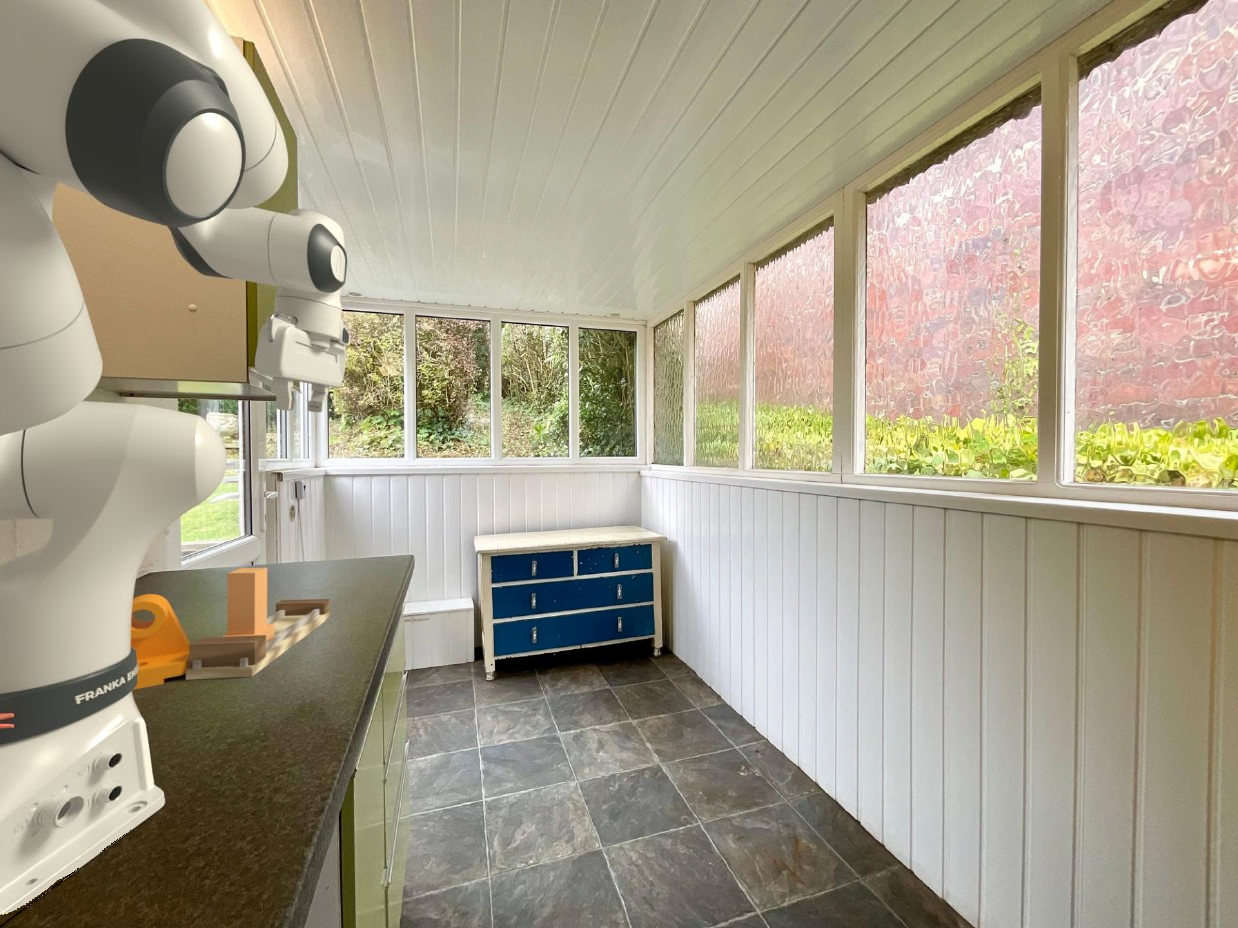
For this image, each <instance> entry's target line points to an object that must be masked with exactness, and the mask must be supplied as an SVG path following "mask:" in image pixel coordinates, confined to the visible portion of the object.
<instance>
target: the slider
mask: <svg viewBox="0 0 1238 928" xmlns="http://www.w3.org/2000/svg"><path fill="white" fill-rule="evenodd" d="M226 593H227V598H226V599H227V601H226V602H227V604H226V605H227V608H226V609H227V620H226V622H227V623H226V624H227V627H226V628H227V630H226V632H227V633H225V634H223V635H221V636H220V637H228V636H255V635H266V642H267V641H268V640H270V639H271V638H273V637H274V624H267V618H268V567H249V568H248V567H246V568H245V567H243V568H242V567H240V568H239V569H236V570H232V571H230V572H228V573H227V590H226Z"/></svg>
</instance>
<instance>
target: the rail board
mask: <svg viewBox="0 0 1238 928" xmlns="http://www.w3.org/2000/svg"><path fill="white" fill-rule="evenodd" d="M330 601H331V600H330V598H315V599H314V598H312V599H311V598H310V599H282V600H279V601H278V602H277V603H275V612H274V613H273V614H272V615H270V616H267V624H274V637H273V638H271V639H270V640H268V641H267V642H266V635H255V636H228V637H221V636H206V637H203V636H202V637H201V638H199V639H197V640H196V641H194V642H191V644H190V645H189V668H188V669H186V673H185V680H186V681H187V680H211V679H228V678H231V679H232V678H249V677H250V678H251V677H254V676H255V675H256V674H258V673H259V672H260V671H261V670H263V669H264V668H265V667H267V666H269V664H271V663H272V662H273V661H275V660H276V659H277V658H278V657H280V656H282V654H284V653H285V652H287V651H288V650H290V649H291V648H292V647H293V646H295V645H296V644H297V643H298V642H300V641H301V640H303V639H304V638H305V637H307V636H308V635H309V634H310V633H312V632H313V631H315V630H316V629H317V628H319V626H321V625H322V624H324V623H325V622H326V621H328V620H329V619H330V618H331V610H330V607H331V605H330ZM327 619H328V620H327Z"/></svg>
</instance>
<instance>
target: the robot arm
mask: <svg viewBox="0 0 1238 928" xmlns="http://www.w3.org/2000/svg"><path fill="white" fill-rule="evenodd" d="M255 74H256V73H255V72H254V71H253V70H252V68H251V65H249V63H248V61H247V59H246V57H244V55H243V54H242V52H241V50H240V48H239V47H238V45H237V44H236V43H235V41H234V39H232V37H231V35H229V33H228V31H227V30H226V29H225V28H224V26H223V25H222V23H221V22H220V20H218V18H217V17H216V16H215V14H214V13H213V12H212V11H211V9H210V8H209V6H208V5H207V4H206V3H205V2H204V0H0V521H12V520H16V521H17V520H19V521H20V520H36V519H37V520H38V519H39V520H40V519H42V520H51V521H52V527H51V529H52V530H51V535H50V536H49V539H48V541H47V542H46V544H45V545H44V546H43V547H41V548H38V549H36V550H34V551H32V552H31V551H30V552H29V553H26V554H23V555H21V556H18V557H15V558H13V559H11V560H8V561H5V562H3V563H0V915H1V914H2V915H4V914H8V913H9V912H12V911H14V910H17V908H20V907H21V906H23V905H26V903H29V901H32V899H34V898H35V897H37V896H38V895H40V894H41V893H42V892H44V891H45V890H47V889H48V888H49V887H50V886H51V885H53V884H54V883H55V882H56V881H57V880H59V879H62V878H63V877H65V876H67V875H69V874H71V873H72V872H74V871H75V870H76V871H78V870H77V868H79V869H80V868H82V867H83V866H84V865H86V864H87V863H89V862H90V861H91V860H92V859H94V858H95V857H97V856H98V855H100V854H101V853H103V851H102V850H104V848H106V847H107V846H109V845H110V846H112V845H111V843H113V842H114V841H116V840H117V839H118V840H120V839H121V838H123V837H124V836H125V835H127V834H128V833H130V832H131V831H132V830H133V829H136V827H138V826H139V825H140V824H142V823H143V822H144V821H146V820H147V819H148V818H150V817H151V816H153V815H154V814H156V813H157V812H158V811H159V810H161V808H162V807H164V805H165V803H166V798H165V792H164V791H163V790H162V788H160V787H158V786H157V785H156V784H155V779H154V775H153V768H152V767H153V766H152V761H151V760H152V759H151V753H150V752H151V751H150V746H149V745H150V743H149V738H148V732H147V725H146V722H145V719H144V718H143V716H142V715H141V712H140V711H139V708H138V706H137V704H136V701H135V699H134V694H133V691H134V690H135V689H134V688H135V687H136V685H137V671H138V670H139V665H138V663H137V655H136V650H135V649H134V648H132V647H131V615H132V604H133V599H134V593H135V587H136V580H137V577H138V573H139V571H140V567H141V565H142V563H143V561H144V559H145V557H146V555H147V554H148V552H149V550H150V548H152V546H153V544H155V542H156V540H157V539H158V538H159V537H160V536H161V535H162V534H163V532H164V531H165V530H167V529H168V527H169V526H171V525H172V524H173V523H174V522H176V521H177V520H178V519H179V518H180V517H181V516H183V515H185V514H186V513H187V512H189V511H191V510H192V509H193V508H195V507H197V506H199V505H201V504H202V503H204V502H205V501H206V500H207V499H209V497H210V496H211V495H213V493H214V492H215V491H217V489H218V487H219V486H220V485H221V483H222V481H223V479H224V476H225V473H226V469H227V465H228V463H227V461H228V456H227V451H226V447H225V445H224V444H225V443H224V441H223V439H222V437H221V436H220V434H219V432H218V431H217V430H216V429H215V428H214V426H213V425H212V424H210V422H208V421H207V420H206V419H205V418H204V417H202V416H201V415H197V414H193V413H188V412H183V411H179V410H174V409H169V408H164V407H159V406H154V405H147V404H139V403H124V402H123V403H121V402H105V401H88V400H85V399H86V398H87V397H89V396H90V394H91V393H92V392H93V391H94V390H95V389H96V387H97V386H98V384H99V382H100V380H101V376H102V374H103V367H104V366H103V365H104V364H103V357H102V354H101V351H100V349H99V344H98V342H97V338H96V334H95V331H94V327H93V325H92V321H91V317H90V314H89V310H88V307H87V305H86V302H85V301H86V300H85V298H84V294H83V291H82V288H81V285H80V282H79V280H78V277H77V273H76V271H75V269H74V265H73V264H72V261H71V259H70V256H69V254H68V251H67V249H66V247H65V245H64V242H63V241H62V239H61V237H60V235H59V232H58V230H57V228H56V227H55V225H54V223H53V205H54V199H55V193H56V190H57V186H58V185H59V183H60V184H62V185H65V186H66V187H70V188H72V189H74V190H76V191H80V192H81V193H84V194H85V195H86V194H87V195H90V196H92V197H93V198H94V199H96V200H97V201H98V202H99V203H101V204H103V205H104V206H105V207H108V208H109V209H111V210H114V211H117V212H119V213H123V214H126V215H128V216H130V217H134V218H136V219H140V220H143V221H146V222H149V223H153V224H157V225H160V226H165V227H167V228H168V230H169V232H171V237H172V239H173V242H174V246H175V247H176V250H177V251H178V253H179V254H180V255H181V257H182V258H183V259H184V261H185V262H187V263H188V265H190V266H191V267H192V268H194V270H195V271H197V272H198V273H199V274H201V275H203V276H206V277H213V278H221V279H222V278H223V279H230V280H231V279H232V280H233V279H235V280H238V281H239V280H240V281H246V282H252V283H258V284H263V285H269V286H273V287H277V291H276V292H275V298H274V309H273V310H274V311H273V312H272V313H271V314H270V315H269V316H267V319H266V323H265V324H263V325H262V327H261V329H260V331H259V335H258V339H257V340H258V341H257V345H256V350H255V357H254V367H255V370H256V372H257V375H260V376H265V377H266V376H267V377H272V383H271V385H272V390H273V392H274V395H275V399H276V400H275V408H276V409H277V410H281V411H287V412H288V411H290V412H291V411H293V410H294V409H295V399H294V398H293V397H292V395H293V394H292V389H291V388H293V387H294V382H298V383H299V382H300V383H304V384H311V391H312V394H311V398H310V400H307V410H308V412H312V413H322V412H323V411H324V404H325V401H326V399H327V397H328V394H329V390H330V389H329V388H339V387H340V386H341V385H342V383H343V381H344V377H345V376H344V375H345V369H346V364H347V363H346V361H347V348H346V347H345V346H347V347H348V346H350V344H351V334H350V332H349V331H348V329H347V328H346V326H345V324H344V321H343V320H342V317H343V316H342V313H343V307H342V302H341V294H342V290H343V288H344V285H345V284H346V280H347V269H348V268H347V267H348V256H347V251H346V244H345V235H344V234H345V233H344V230H343V228H342V227H341V226H340V224H338V222H336V221H335V220H334V219H332V218H331V217H329V216H327V215H325V214H323V213H321V212H319V211H315V210H311V209H308V208H295V209H292V210H290V211H289V212H288V213H284V212H283V213H282V212H278V211H272V210H267V209H263V208H260V207H259V208H258V207H256V206H259V205H261V204H263V203H265V202H266V201H267V200H269V199H270V198H271V197H273V195H275V194H276V193H277V192H278V191H279V190H280V188H281V186H282V185H283V184H284V181H285V179H286V175H287V173H288V167H289V155H288V153H289V152H288V148H287V144H286V139H285V135H284V132H283V129H282V127H281V124H280V122H279V119H278V117H277V115H276V113H275V111H274V109H273V107H272V104H271V103H270V101H269V99H268V97H267V95H266V93H265V91H264V88H263V87H262V85H261V84H260V81H259V79H258V78H257V76H256V75H255ZM133 689H134V690H133ZM130 830H131V831H130ZM126 833H127V834H126ZM124 834H125V835H124ZM123 835H124V836H123ZM122 836H123V837H122ZM120 837H121V838H120ZM119 838H120V839H119ZM118 840H117V841H118ZM117 841H116V842H117ZM114 843H115V842H114ZM114 843H113V844H114ZM110 846H109V847H110ZM106 849H107V848H106ZM100 852H101V853H100ZM76 871H75V872H76ZM75 872H74V873H75ZM72 874H73V873H72ZM72 874H71V875H72Z"/></svg>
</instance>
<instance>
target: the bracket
mask: <svg viewBox="0 0 1238 928" xmlns="http://www.w3.org/2000/svg"><path fill="white" fill-rule="evenodd" d="M140 610H145V611H149V612H152V614H153V615H154V618H153V619H151V620H147V621H141V620H139V619H137V618H136V617H135V616H134V612H137V611H140ZM190 644H192V642H191V640H190V638H189V637H188V635H187V633H186V631H185V629H184V627H183V626H182V624H181V622H180V620H179V618H178V617H177V615H176V613H175V611H174V609H173V608H172V606H171V604H170V603H169V601H168V599H167V598H165V597H164V596H162V595H159V594H153V593H147V594H142V595H138V596H136V597H133V604H132V615H131V647H132V648H134V649H135V650H136V655H137V663H138V665H139V670H138V671H137V685H136V687H135V688H134V689H133V690H132V691H134V690H138V689H139V690H140V689H143V688H149V687H153V686H158V685H164V684H165V681H166V679H168V678H174V677H179V676H182V675H186V669H188V668H189V645H190Z"/></svg>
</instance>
